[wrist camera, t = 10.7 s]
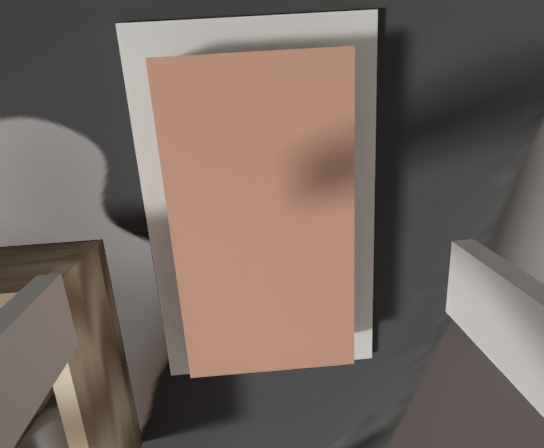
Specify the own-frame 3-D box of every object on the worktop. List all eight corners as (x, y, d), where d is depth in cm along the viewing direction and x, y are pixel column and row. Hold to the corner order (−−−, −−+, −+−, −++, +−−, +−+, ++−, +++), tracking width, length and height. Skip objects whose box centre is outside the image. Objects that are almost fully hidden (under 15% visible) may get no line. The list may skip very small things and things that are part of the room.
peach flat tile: (158, 63, 22) (145, 57, 19) (340, 52, 22) (354, 45, 19) (196, 348, 27) (190, 378, 24) (343, 336, 28) (354, 363, 25)
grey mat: (118, 25, 22) (115, 23, 21) (375, 11, 22) (377, 9, 22) (172, 370, 28) (171, 375, 28) (369, 353, 29) (371, 357, 28)
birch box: (-13, 247, 25) (-108, 302, 18) (102, 239, 25) (50, 290, 18) (46, 451, 30) (-13, 554, 23) (142, 442, 30) (111, 541, 23)
